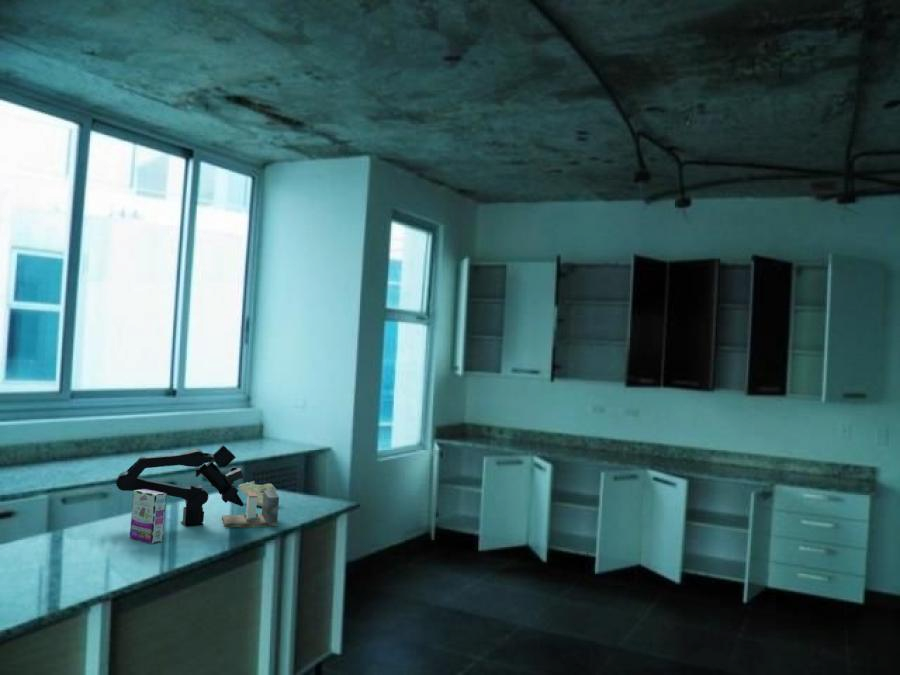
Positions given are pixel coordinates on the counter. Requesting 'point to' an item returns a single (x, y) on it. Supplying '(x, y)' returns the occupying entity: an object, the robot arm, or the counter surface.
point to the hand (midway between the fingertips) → (243, 505)
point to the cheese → (256, 490)
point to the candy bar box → (148, 516)
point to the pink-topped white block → (251, 505)
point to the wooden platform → (265, 519)
